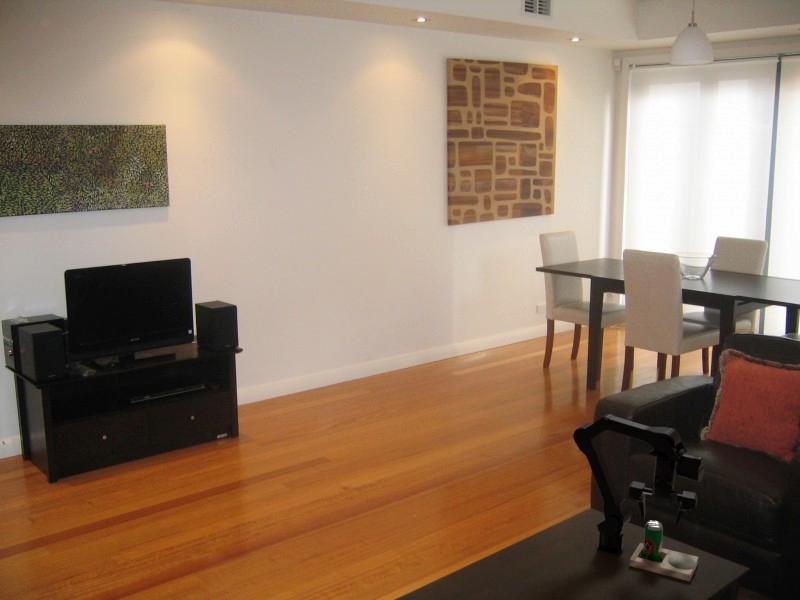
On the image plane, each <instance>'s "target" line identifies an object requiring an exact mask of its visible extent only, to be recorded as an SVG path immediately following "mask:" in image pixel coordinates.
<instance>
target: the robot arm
mask: <svg viewBox="0 0 800 600" xmlns="http://www.w3.org/2000/svg"><path fill="white" fill-rule="evenodd" d="M605 431H610V432H613V433H616V434H620V435H622V436H626V437H629V438H633V439H636V440H639V441H641V442H644V443H646V444H647V445H649V446H650V447H651V448H653V449H651V450H650V451H649V452H648V455H650V456H653V457H655V460H654V461H655V464H654V473H653V474H654V475H653V482H652V485H651V488H649V487H646V483H645V482H640V481H635V480H633V481H632V482H630V484H629V487H628V493H627V496H628V497H630V498H632V500H633V501H634V500H635V501H636V502H637V504H638V507H639V510H640V513H641V518H642V520H645V517H646V495H647V496H651V498H650V499H651V500H650V502H651V504H652V505H654V506H661V507H664V508H667V507H669V506H670V504H677V502H680V503H679V508H678V511H677V516H676V519H675V527H678V525H679V522H680V520H681V519H682V517H683V515H684V513H685V512H686V511H691V509H692V510H696V508H697V502H698V494H697V493H696V492H693V491H688V490H683V491H682V494H680V493H678V491H677V490H676V489H675V479H676V475H678V476H679V477H680V478H684V479H686V480H687V479H688V480H691V481H694V482H698V483H700V482H701V481H702V480H703V479H704V478H703V477H704V474H705V468H706V467H705V463H704V458H703V457H701V456H695V455H690V454H688V450H687V448H686V446H685V445H684V443H683V442H682V437H681V435H680V433H679V431H678V430H677V429H675V428H672V427H666V426H649V425H644V424H643V423H642V424H641V423H638V422H635V421H633V420H632V421H631V420H628V419H625V418H622V417H619V416H615V415H614V414H612V413H611V414H610V413H606V414H605V415H602V417H600V418H599V419H598V420H596V421H595V422H593V423H592V422H586V423H584V424H583V425H581V426H579V427H577V428H576V429H575V430H574V431H573V434H572V437H573V438H572V439H573V442H574V443H575V445H576V446H577V448H578V450H579V451H580V452H581V453H583V455H584V456H585V457H586V459H587V462H588V465H589V467H590V470H591V473H592V476H593V478H594V481H595V482H596V485H597V488H598V490H599V493H600V495H601V498H602V502H603V507H602V508H603V510H602V512H603V517H604V518H603V519H602V520H601V521H600V522H599V523H597V525H596V527H597V530H598V532H599V534H598V536H599V537H598V545H597V547H596V549H597V550H599V551H604V552H608V553H611V554H616V555H619V553H620V552H621V551H622V550H623V548H624V547H625V546H624V545H625V534H624V531H623V527H624V526H625V525H626V524H628V523H629V521H631V519H632V512H633V509H632V508H631V506H630V505H629V500H628V499H627V498H624V499H623V498H622V497H621V496H620V495H619V493H618V491H617V489H616V486H615V484H614V481H613V478H612V476H611V473H610V470H609V469H608V468H609V467H608V465H607V463H606V461H605V457H604V455H603V452H602V437H601V434H602V433H603V432H605ZM675 449H676V450H675ZM674 489H675V490H674Z"/></svg>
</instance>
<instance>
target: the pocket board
mask: <svg viewBox="0 0 800 600" xmlns="http://www.w3.org/2000/svg"><path fill="white" fill-rule="evenodd" d="M643 550H644V542H639V544H638V546H637V547H636V548H635V551H634V552H633V554H632V555H631V557H630V559H629V567H633V568H636V569H640V570H644V571H648V572H652V573H656V574H661V575H664V576H667V577H672V578H675V579H677V580H678V579H679V580H683V581H687V582H690V581H691V580H692V577H693V575H694V573H695V570H696V568H697V566H698V564H699V556H698V555H697V556H696V555H693V554H692V555H691V554H688V553H685V552H681V551H676V550H670V549H668V548H664V547H662V551H661V559H662V561H661V562H660V563H658V562H654V561H650V560H646V559H643ZM641 557H642V558H641Z"/></svg>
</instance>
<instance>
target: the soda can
mask: <svg viewBox="0 0 800 600" xmlns="http://www.w3.org/2000/svg"><path fill="white" fill-rule="evenodd" d="M663 535H664V527H663V524H662V523H661V522H660V521H657V520H648V521H646V523H645V525H644V535H643V536H644V537H643V539H644V540H643V544H644V550H643V554H642V559H646V560H650V561H654V562H658V563H662V561H661V560H662V558H661V551H662V548H663Z"/></svg>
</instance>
